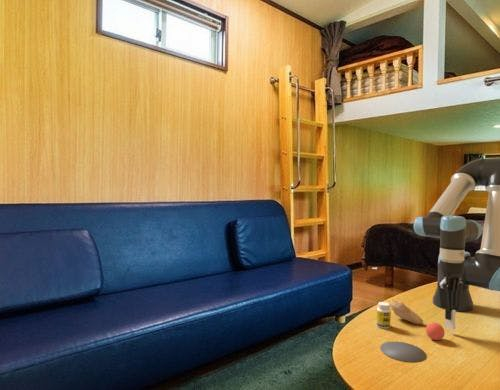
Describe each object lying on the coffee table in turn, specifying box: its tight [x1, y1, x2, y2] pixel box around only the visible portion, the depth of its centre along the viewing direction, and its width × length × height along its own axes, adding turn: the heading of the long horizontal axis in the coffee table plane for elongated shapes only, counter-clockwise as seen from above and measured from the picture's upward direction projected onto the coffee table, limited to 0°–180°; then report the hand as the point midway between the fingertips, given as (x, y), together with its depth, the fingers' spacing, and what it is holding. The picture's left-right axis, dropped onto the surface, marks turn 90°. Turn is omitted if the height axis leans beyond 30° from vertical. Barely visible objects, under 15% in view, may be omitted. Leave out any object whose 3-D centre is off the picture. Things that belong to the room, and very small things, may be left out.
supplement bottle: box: [376, 301, 392, 330], centre depth 129 cm, size 5×5×8 cm
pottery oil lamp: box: [389, 299, 424, 325], centre depth 134 cm, size 9×12×7 cm
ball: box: [425, 322, 445, 341], centre depth 118 cm, size 6×6×6 cm
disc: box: [379, 341, 427, 363], centre depth 109 cm, size 13×13×1 cm
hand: (449, 327), depth 123 cm, fingers closed
